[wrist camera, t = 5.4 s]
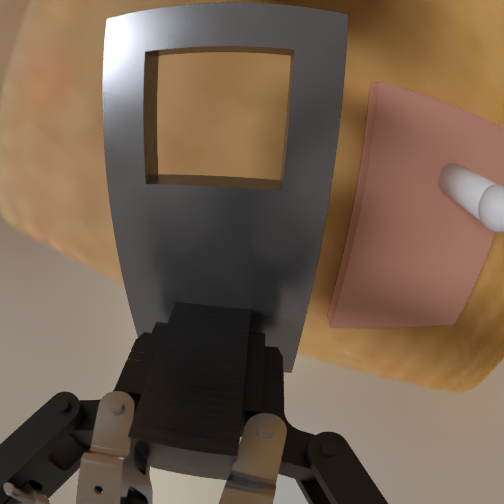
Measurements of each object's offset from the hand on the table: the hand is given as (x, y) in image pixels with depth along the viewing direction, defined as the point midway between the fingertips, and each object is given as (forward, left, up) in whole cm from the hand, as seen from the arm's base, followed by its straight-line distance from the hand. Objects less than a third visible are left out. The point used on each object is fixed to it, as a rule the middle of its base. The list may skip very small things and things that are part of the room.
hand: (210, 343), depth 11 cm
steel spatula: (-5, 0, -2) cm, 5 cm away
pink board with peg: (-2, +14, -10) cm, 18 cm away
